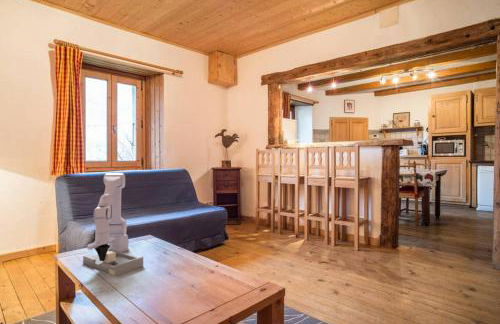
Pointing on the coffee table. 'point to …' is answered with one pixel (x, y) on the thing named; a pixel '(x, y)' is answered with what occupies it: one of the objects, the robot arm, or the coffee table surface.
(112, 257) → the block
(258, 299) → the coffee table surface
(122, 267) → the board
